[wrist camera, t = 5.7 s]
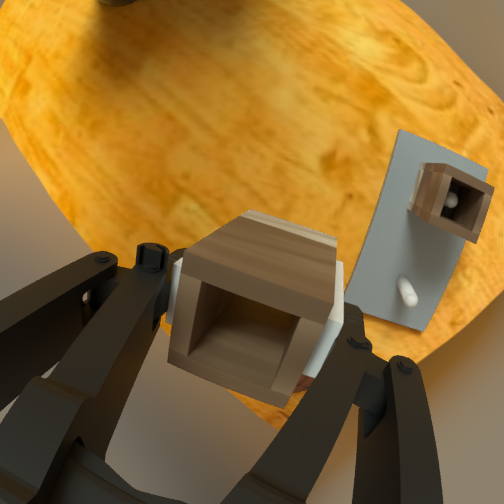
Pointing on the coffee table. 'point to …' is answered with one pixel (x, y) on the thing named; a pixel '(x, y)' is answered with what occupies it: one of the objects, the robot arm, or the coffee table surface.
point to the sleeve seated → (434, 194)
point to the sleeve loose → (253, 305)
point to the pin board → (407, 241)
